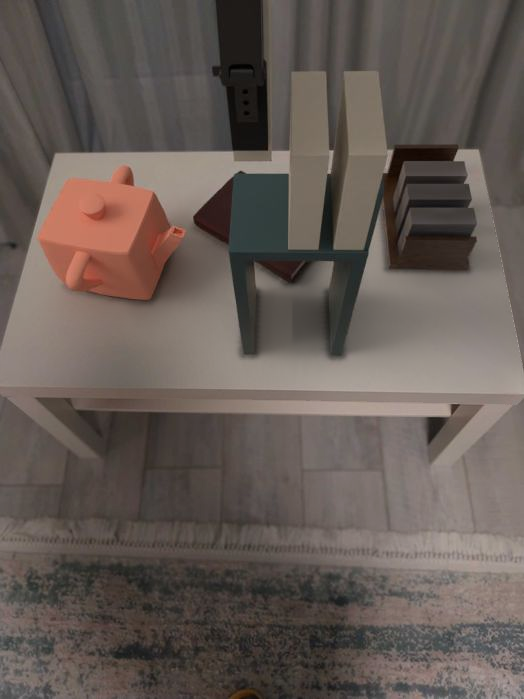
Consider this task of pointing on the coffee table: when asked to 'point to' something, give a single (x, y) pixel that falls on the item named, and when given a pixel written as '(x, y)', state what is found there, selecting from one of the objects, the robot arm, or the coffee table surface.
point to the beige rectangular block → (270, 86)
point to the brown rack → (427, 209)
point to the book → (217, 223)
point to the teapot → (108, 237)
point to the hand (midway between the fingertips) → (253, 99)
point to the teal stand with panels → (314, 198)
